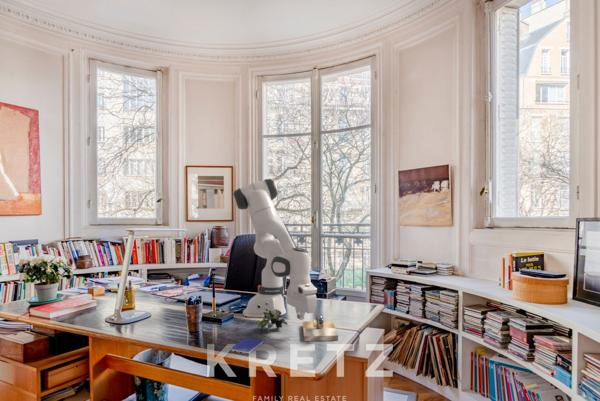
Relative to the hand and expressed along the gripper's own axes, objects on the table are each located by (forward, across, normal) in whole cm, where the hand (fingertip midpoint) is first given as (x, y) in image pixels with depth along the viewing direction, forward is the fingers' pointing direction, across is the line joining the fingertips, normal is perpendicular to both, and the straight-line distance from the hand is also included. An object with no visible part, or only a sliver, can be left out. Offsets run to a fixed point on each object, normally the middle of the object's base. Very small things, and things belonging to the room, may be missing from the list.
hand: (300, 318), depth 161 cm
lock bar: (+2, +4, +7) cm, 9 cm away
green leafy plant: (+8, -14, -7) cm, 17 cm away
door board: (+7, 0, +10) cm, 12 cm away
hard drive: (+8, -1, -24) cm, 25 cm away
